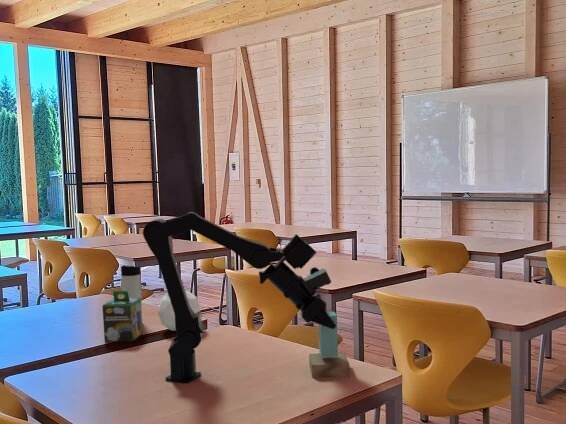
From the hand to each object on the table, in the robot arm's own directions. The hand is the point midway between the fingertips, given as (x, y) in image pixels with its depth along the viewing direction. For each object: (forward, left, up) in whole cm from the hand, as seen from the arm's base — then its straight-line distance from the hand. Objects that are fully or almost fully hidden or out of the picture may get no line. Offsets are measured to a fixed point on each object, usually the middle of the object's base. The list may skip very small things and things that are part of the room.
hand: (333, 325), depth 145 cm
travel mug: (+23, +78, -12) cm, 82 cm away
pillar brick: (-1, +1, -7) cm, 7 cm away
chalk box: (+8, +70, -12) cm, 72 cm away
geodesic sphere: (+21, +58, -12) cm, 63 cm away
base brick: (-1, +1, -12) cm, 12 cm away
